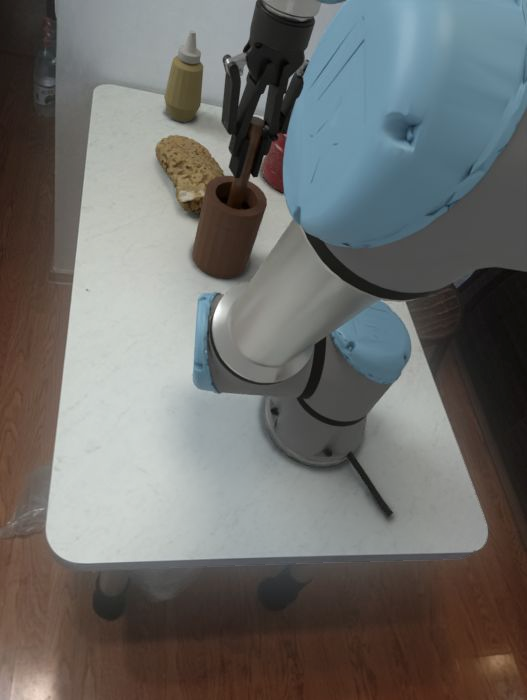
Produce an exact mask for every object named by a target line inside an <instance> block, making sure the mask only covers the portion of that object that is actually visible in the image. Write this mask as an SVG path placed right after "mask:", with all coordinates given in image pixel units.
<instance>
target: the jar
mask: <svg viewBox="0 0 527 700" xmlns="http://www.w3.org/2000/svg"><path fill="white" fill-rule="evenodd" d="M233 178H234V176H233V175H224V176H221V177H216V178H214V179H212V180H211V181H209V183H208V184H207V186H206V189H205V194H204V199H203V204H202V208H201V213H199V219H198V223H197V227H196V232H195V237H194V242H193V246H192V252H191V253H192V256H191V257H192V261H193V262H194V264H195V265H196V267H197V268H198V269H199V270H200V271H202V272H204V273H205V274H206V275H207V276H210V277H213V278H217V279H234V278H237V277H239V276H240V275H242V274H243V273H244V272H245V271H246V269H247V266H248V264H249V261H250V258H251V255H252V252H253V249H254V246H255V243H256V239H257V236H258V233H259V231H260V228H261V225H262V222H263V218H264V215H265V213H266V209H267V205H268V199H267V197H266V195H265V193H264V191H263V190H262V189H261V188H260V187H259V186H258V185H256V184H255V183H253V182H252V181H250V180H249V182H248V185H247V189H246V192H245V196H244V199H243V203H242V208H243V210H238V209H234V208H231V207H228V206H226V205H225V203H227V201H228V197H229V193H230V189H231V185H232V182H233Z"/></svg>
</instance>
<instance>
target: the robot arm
mask: <svg viewBox="0 0 527 700" xmlns="http://www.w3.org/2000/svg"><path fill="white" fill-rule="evenodd" d="M342 3H343V4H342ZM322 4H325V5H337V4H342V5H341V7H340V8H339V9H338V10H337V12H336V13H335V15H334V16H333V18H332V19H331V21H330V22H329V24H328V25H327V27H325V30H324V32H323V33H322V35H321V38H320V39H319V41H318V43H317V45H316V47H315V49H314V51H313V52H312V55H311V57H310V59H306V54H305V51H306V50H307V49H308V47H309V43H310V41H311V37H312V34H313V31H314V27H315V24H316V19H315V17H316V16H317V15H318V14H319V12H320V10H321V7H322V6H321V5H322ZM252 13H253V14H252V17H251V22H250V27H249V37H248V41H247V42H246V43H245V45H244V46H243V48H242V52H240V53H239V54H237V55H233V56H231V54H228V53H227V54H224V55H223V57H222V64H223V68H224V72H225V77H224V87H223V98H222V110H221V121H220V122H221V124H222V126H223V128H224V129H225V131H226V133H227V134H228V135H230V139H229V144H228V151H229V153H230V155H231V156H230V159H229V164H228V169H229V170H230V172H231V174H232V176H234V177H235V178H240V175H241V171H242V167H243V163H244V159H245V156H246V152H247V148H248V144H249V140H250V139H249V138H248V136H247V135H246V134H247V131H248V128H249V126H250V123H251V120H252V118H253V116H255V115H254V114H255V112H256V109H257V107H258V104H259V101H260V99H261V97H262V95H263V94H264V93H265V91H266V89H267V87H268V89H267V95H266V96H267V97H266V100H265V101H266V102H265V108H264V113H263V114H264V115H263V119H262V120H263V121H264V123H265V124H264V128H263V132H262V135H261V139H260V142H259V146H258V149H257V153H256V157H255V160H254V164H253V167H252V171H251V174H250V176H252V178H258V177H259V173H260V170H261V167H262V164H263V160H264V158H265V156H266V155H268V153H269V151H270V147H271V144H272V141H276V140H277V139H278V138H279V137H278V136H277V134H279V133H282V134H286V133H287V136H286V142H285V150H284V158H283V186H284V193H283V195H284V199H285V203H286V207H287V210H288V212H289V214H290V216H291V218H292V220H291V221H290V222H289V224H288V226H287V227H286V229H285V230H284V231H283V233H282V235H281V236H280V237H279V239H278V240H277V241H276V243H275V245H273V248H272V249H271V250H270V252H269V254H268V255H267V257H266V258H265V259H264V261H263V262H262V264H261V265H260V266H259V268H258V269H257V271H256V272H255V273H254V275H253V277H252V278H251V279H249V280H245V281H243V282H240V283H238V284H236V285H234V286H233V287H231V288H230V289H229V290H228V291H226V292H225V294H222V293H221V292H217V291H213V292H204V293H201V294H200V295H199V296H198V298H197V307H196V317H195V318H196V319H195V333H194V347H193V349H194V350H193V365H192V367H193V368H192V383H193V385H194V386H195V388H197V389H198V390H200V391H206V392H212V393H214V394H217V395H221V394H234V395H247V396H259V397H260V396H261V397H266V399H265V401H264V403H263V404H264V405H263V422H264V426H265V428H266V431H267V433H268V435H269V437H270V438H271V440H272V442H273V443H274V444H275V446H277V448H278V449H280V450H281V452H283V453H284V454H285V455H287V456H288V457H289V458H291V459H293V460H295V461H297V462H299V463H301V464H304V465H307V466H312V467H319V468H320V467H322V468H324V467H332V466H335V465H339V464H341V463H342V462H344V461H346V460H347V459H348V461H349V462H350V464H351V466H352V467H353V468H354V471H356V473H357V474H358V476H359V477H360V479H361V480H362V482H363V483H364V485H365V486H366V488H367V489H368V491H369V493H370V494H371V496H372V498H373V499H374V500H375V502H376V504H377V505H378V506H379V508H380V509H381V511H382V512H383V513H384V514H385V515H386V517H387V518H389V517H391V516H392V515H393V514H394V512H393V511H392V509H391V508H390V507H389V505H388V504H387V503H386V501H385V500H384V498H383V497H382V496H381V494H380V492H379V491H378V489H377V487H376V486H375V484H374V483H373V481H372V480H371V478H370V477H369V476H368V474H367V472H366V471H365V469H364V468H363V466H362V465H361V464H360V462H359V461H358V459H357V457H356V456H355V454H354V452H355V451H356V450H357V448H358V447H359V445H360V444H361V442H362V439H363V437H364V433H365V428H366V423H367V417H368V414H369V413H370V412H371V411H372V410H373V408H374V407H375V406H376V404H378V402H379V401H380V400H381V399H382V398H383V396H384V395H385V394H386V393H387V391H388V390H389V389H390V388H391V387H392V386H393V384H394V383H395V382H397V381H398V380H399V378H400V377H401V376H402V372H403V370H404V369H405V367H406V366H407V364H408V363H409V361H410V358H411V355H412V347H413V346H412V339H411V336H410V333H409V330H408V328H407V326H406V324H405V323H404V321H403V320H402V319H401V317H400V316H399V315H398V314H397V313H396V312H395V311H393V310H392V308H391V307H390V306H389V305H387V304H386V303H385V302H395V303H404V302H413V301H416V300H419V299H423V298H426V297H429V296H431V295H433V294H436V293H438V292H439V291H440V290H442V289H444V288H446V287H448V286H449V285H451V284H453V283H455V282H457V281H459V280H460V279H462V278H463V277H465V276H467V275H468V274H471V273H472V272H474V271H477V270H481V269H487V268H489V269H490V268H501V269H506V270H513V271H520V272H526V273H527V0H256V1H255V4H254V10H253V12H252ZM245 66H246V67H247V69H248V72H247V75H246V79H245V81H246V83H245V86H244V90H243V92H242V95H241V86H242V78H241V77H242V76H243V75H244V68H245ZM290 78H291V79H290ZM289 80H290V81H289ZM240 96H241V97H240Z"/></svg>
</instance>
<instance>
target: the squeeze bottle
mask: <svg viewBox="0 0 527 700" xmlns="http://www.w3.org/2000/svg"><path fill="white" fill-rule="evenodd" d="M201 56H202V52H201V50H200V49H198V47H197V33H196V31H194V30H190V31H189V33H188V35H187V38H186V41H185V44H182V45H180V46H179V47H178V52H177V55H176V56H174V57H173V58H172V61H171V67H170V70H169V73H168V74H169V75H168V79H167V84H166V88H165V93H164V96H163V97H164V102H165V107H166V112H167V115H168V116H169V118H171V119H173V120H175V121H177V122H182V123H187V122H188V123H189V122H191V121H192V120H193V119H194V118H195V117H196V114H197V113H198V111H199V109H200V108H201V104H202V91H203V90H202V89H203V78H204V77H203V76H204V65H203V63H202V62H201Z"/></svg>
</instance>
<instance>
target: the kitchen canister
mask: <svg viewBox="0 0 527 700" xmlns="http://www.w3.org/2000/svg"><path fill="white" fill-rule="evenodd" d="M277 136H278V137H279V138H278V139H277V140H276V141H272V144H271V147H270V151H269V153H268V155H264V157H263V160H262V164H261V167H262V168H261V174H262V176H263V178H264V180H265V181H266V182H267V184H269V186H271V187H272V188H274V189H275V190H277V191H279V192H281V193H283V194H284V186H283V158H284V150H285V142H286V136H287V133H286V134H282V133H279V134H277Z"/></svg>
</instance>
